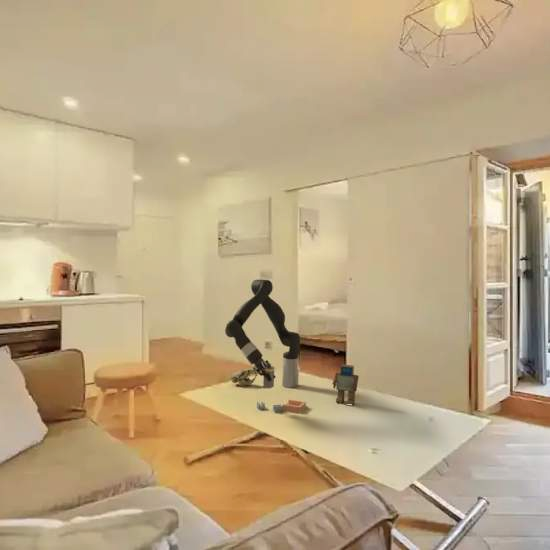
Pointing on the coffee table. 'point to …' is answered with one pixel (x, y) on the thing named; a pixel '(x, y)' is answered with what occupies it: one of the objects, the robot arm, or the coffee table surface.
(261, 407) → the clip
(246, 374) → the skull
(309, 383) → the coffee table surface
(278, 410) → the clip
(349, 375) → the toy
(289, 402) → the holder
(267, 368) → the plug
